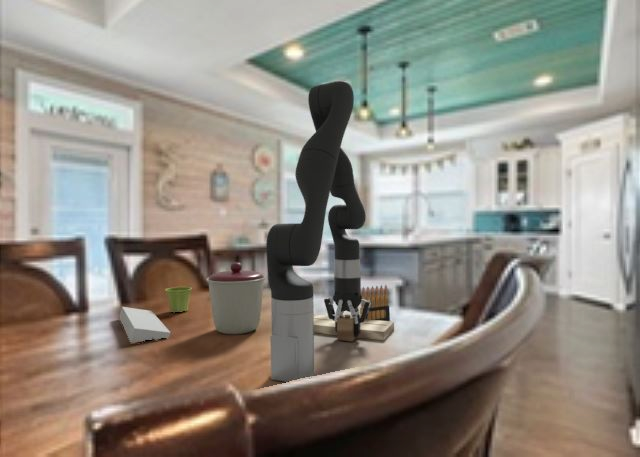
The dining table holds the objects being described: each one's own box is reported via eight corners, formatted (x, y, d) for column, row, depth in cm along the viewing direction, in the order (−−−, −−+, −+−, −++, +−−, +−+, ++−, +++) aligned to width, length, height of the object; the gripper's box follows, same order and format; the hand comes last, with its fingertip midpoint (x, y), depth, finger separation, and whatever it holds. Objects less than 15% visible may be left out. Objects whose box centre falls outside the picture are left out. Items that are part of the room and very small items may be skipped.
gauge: (352, 341, 113) (351, 317, 113) (337, 339, 115) (337, 316, 115) (366, 330, 124) (366, 308, 124) (352, 328, 126) (352, 307, 126)
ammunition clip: (362, 324, 132) (362, 287, 132) (359, 323, 134) (359, 286, 134) (390, 320, 137) (389, 284, 137) (386, 319, 139) (386, 284, 138)
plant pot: (164, 310, 157) (164, 287, 157) (190, 307, 161) (190, 285, 161) (166, 315, 148) (166, 291, 148) (193, 312, 152) (193, 289, 152)
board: (394, 329, 126) (394, 321, 126) (384, 340, 115) (384, 331, 115) (311, 321, 137) (311, 314, 137) (294, 330, 126) (294, 322, 126)
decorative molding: (148, 324, 148) (118, 320, 143) (151, 311, 149) (122, 306, 144) (166, 349, 119) (129, 345, 114) (170, 332, 120) (134, 328, 115)
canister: (235, 320, 140) (234, 258, 139) (278, 327, 130) (277, 261, 130) (194, 333, 124) (192, 264, 124) (239, 342, 115) (238, 267, 114)
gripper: (318, 275, 115) (319, 336, 116) (367, 278, 109) (367, 341, 110) (329, 272, 122) (329, 329, 122) (375, 274, 116) (376, 334, 117)
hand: (347, 335), depth 116 cm, fingers closed on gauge, 4 cm apart
